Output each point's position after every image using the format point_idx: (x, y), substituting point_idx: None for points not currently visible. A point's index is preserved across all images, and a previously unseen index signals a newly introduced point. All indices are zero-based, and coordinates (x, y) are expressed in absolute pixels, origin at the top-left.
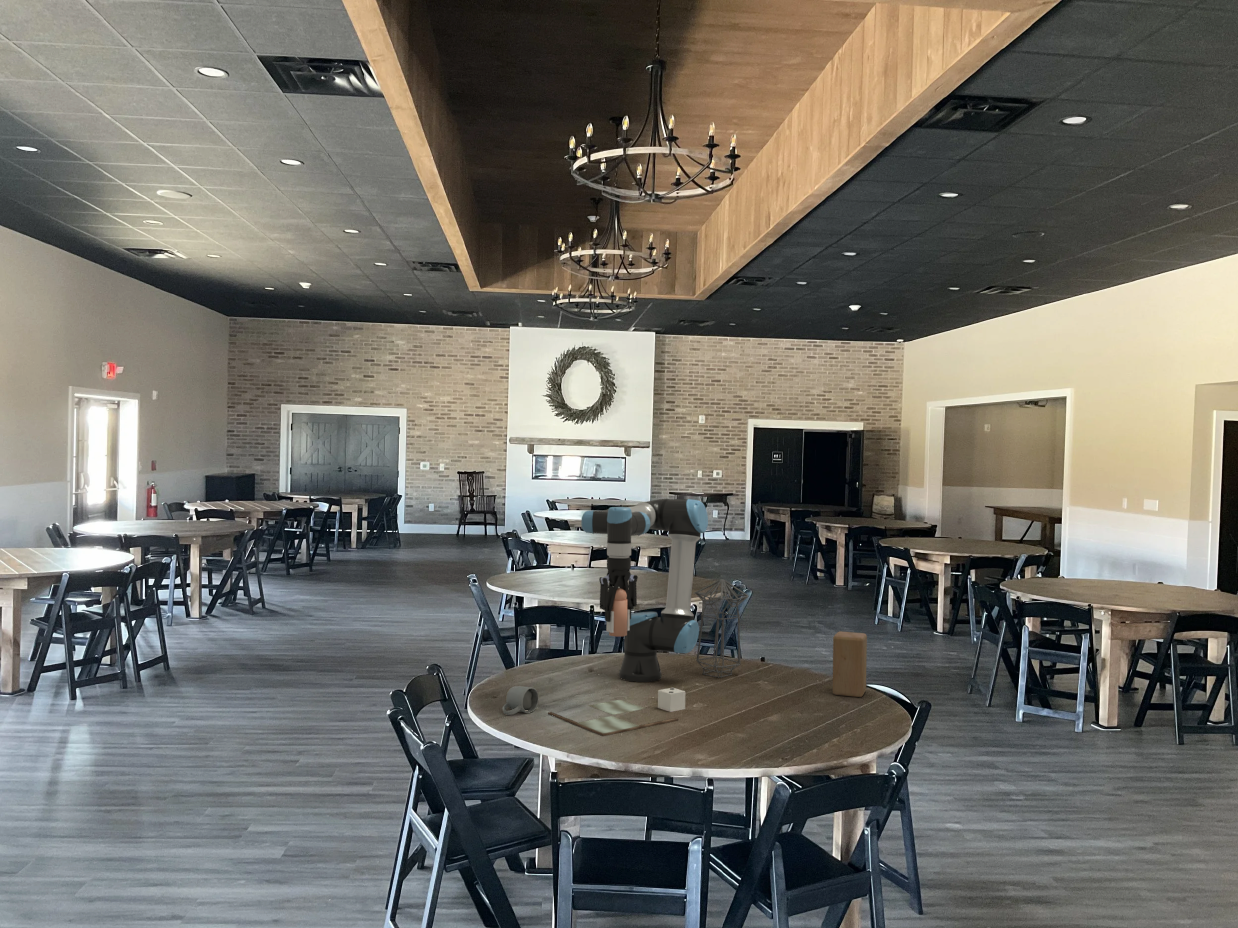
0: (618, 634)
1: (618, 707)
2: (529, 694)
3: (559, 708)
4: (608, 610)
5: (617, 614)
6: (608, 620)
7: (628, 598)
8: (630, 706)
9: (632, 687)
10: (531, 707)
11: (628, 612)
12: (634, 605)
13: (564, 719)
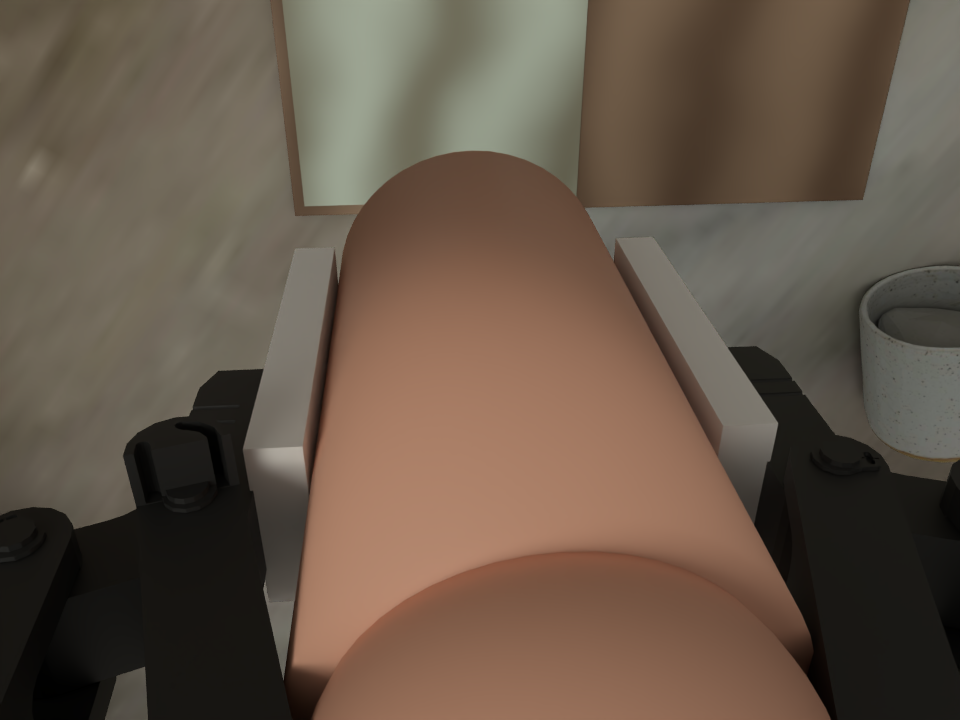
0: (553, 184)
1: (438, 39)
2: (938, 345)
3: (721, 262)
4: (862, 460)
5: (645, 348)
6: (758, 356)
7: (233, 685)
8: (347, 11)
9: (51, 428)
10: (873, 314)
11: (290, 409)
12: (52, 526)
13: (905, 10)
